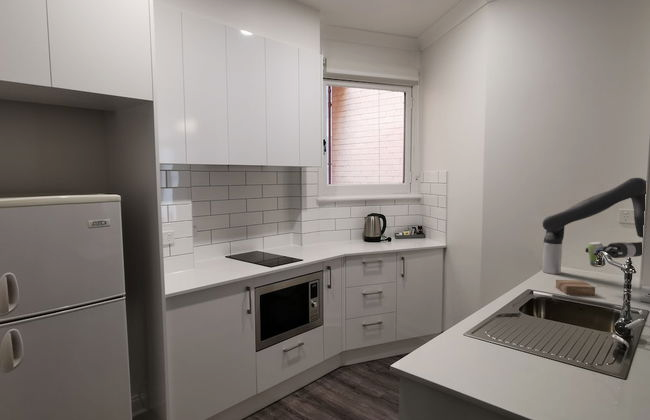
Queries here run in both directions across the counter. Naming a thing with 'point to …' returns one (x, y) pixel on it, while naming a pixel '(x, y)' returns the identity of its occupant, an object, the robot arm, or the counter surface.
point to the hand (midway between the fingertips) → (591, 251)
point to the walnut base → (575, 287)
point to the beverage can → (594, 253)
